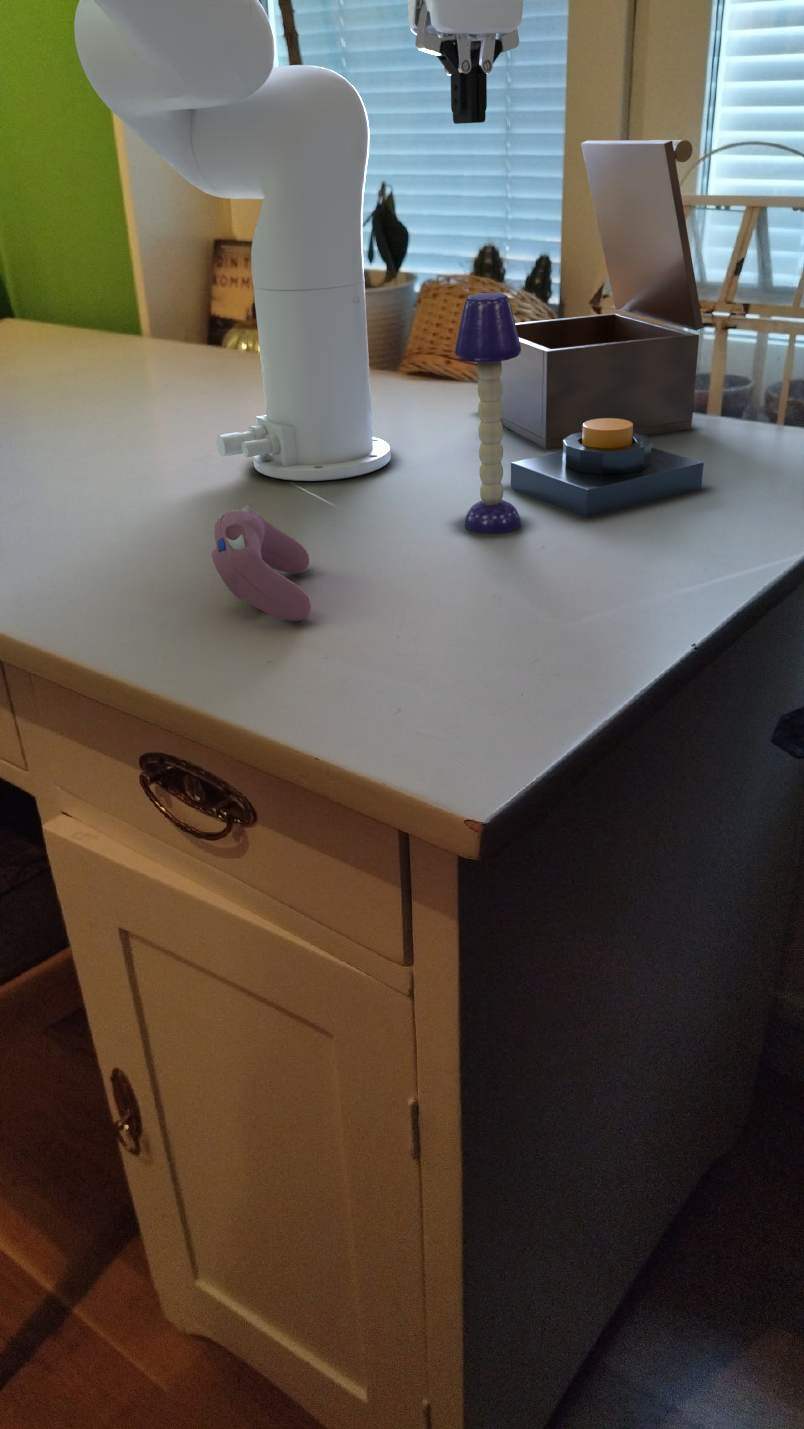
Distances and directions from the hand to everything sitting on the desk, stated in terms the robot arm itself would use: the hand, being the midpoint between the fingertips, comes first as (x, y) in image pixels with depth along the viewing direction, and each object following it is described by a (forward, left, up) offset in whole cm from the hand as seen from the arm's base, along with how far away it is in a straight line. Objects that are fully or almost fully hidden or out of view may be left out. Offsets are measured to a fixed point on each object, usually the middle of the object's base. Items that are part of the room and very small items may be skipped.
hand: (469, 122), depth 104 cm
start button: (-7, -30, -23) cm, 39 cm away
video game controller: (-40, -35, -27) cm, 60 cm away
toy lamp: (-20, -32, -27) cm, 47 cm away
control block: (-7, -30, -27) cm, 41 cm away
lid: (+11, -12, -10) cm, 19 cm away
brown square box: (+6, -11, -27) cm, 30 cm away
